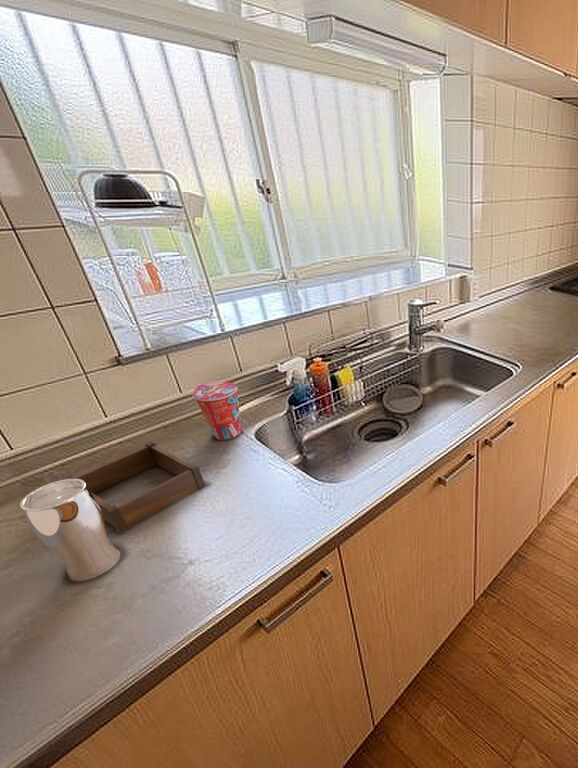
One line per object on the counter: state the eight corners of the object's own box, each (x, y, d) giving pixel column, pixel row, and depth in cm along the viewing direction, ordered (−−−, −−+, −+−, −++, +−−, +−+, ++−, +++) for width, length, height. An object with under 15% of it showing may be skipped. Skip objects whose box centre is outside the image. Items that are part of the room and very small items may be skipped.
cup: (256, 426, 103) (245, 382, 97) (236, 446, 95) (222, 400, 89) (218, 424, 102) (204, 380, 97) (194, 444, 95) (178, 398, 89)
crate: (75, 502, 78) (62, 479, 75) (160, 461, 89) (151, 440, 86) (121, 535, 72) (109, 511, 69) (206, 487, 83) (198, 465, 80)
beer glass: (122, 541, 70) (85, 471, 64) (127, 568, 66) (89, 495, 59) (64, 565, 66) (18, 491, 59) (66, 594, 62) (16, 519, 55)
